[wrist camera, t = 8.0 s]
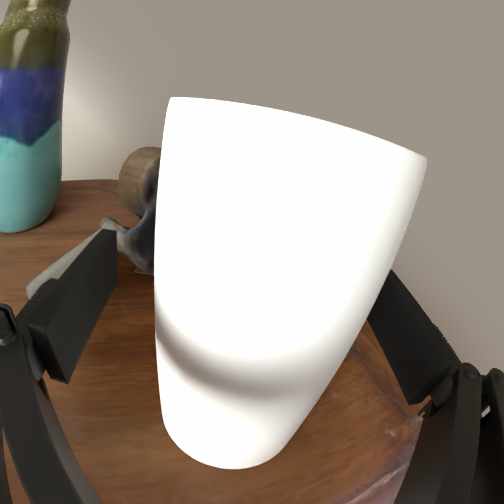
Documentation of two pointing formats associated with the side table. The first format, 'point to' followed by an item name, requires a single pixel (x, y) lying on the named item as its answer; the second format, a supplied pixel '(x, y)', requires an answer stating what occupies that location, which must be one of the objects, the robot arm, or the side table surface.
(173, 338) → the cup
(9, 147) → the vase
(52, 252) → the side table surface
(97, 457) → the side table surface
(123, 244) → the grey two-tone handled device
